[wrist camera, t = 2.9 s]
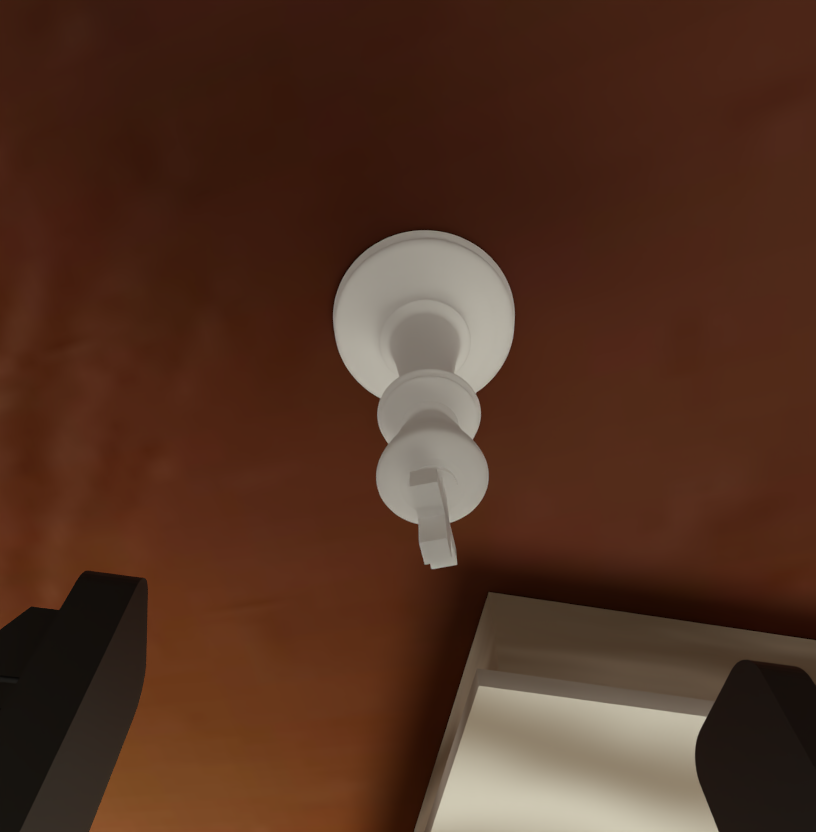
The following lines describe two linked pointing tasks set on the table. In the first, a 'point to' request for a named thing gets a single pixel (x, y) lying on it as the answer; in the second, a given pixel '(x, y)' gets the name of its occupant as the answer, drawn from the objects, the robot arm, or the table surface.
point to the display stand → (586, 719)
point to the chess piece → (426, 370)
